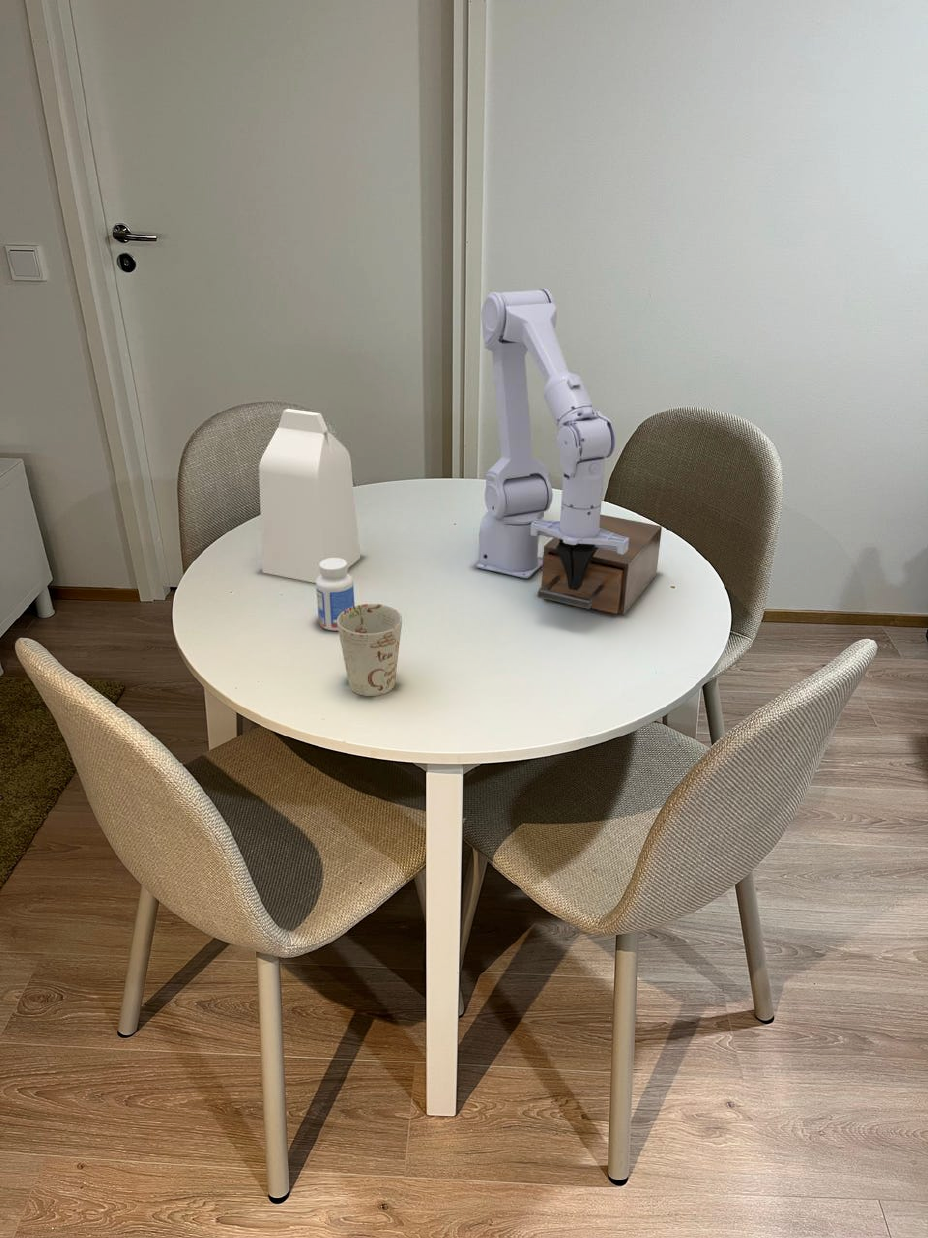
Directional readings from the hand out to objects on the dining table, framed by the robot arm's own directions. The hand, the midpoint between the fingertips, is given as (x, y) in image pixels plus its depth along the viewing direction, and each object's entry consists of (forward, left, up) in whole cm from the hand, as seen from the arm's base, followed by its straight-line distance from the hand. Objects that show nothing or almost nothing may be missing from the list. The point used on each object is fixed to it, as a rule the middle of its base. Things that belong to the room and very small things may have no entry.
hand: (575, 587), depth 147 cm
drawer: (0, +6, -4) cm, 7 cm away
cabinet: (0, +12, -5) cm, 13 cm away
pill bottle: (-30, -19, -5) cm, 36 cm away
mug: (-18, -30, -5) cm, 35 cm away
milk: (-45, -4, -5) cm, 45 cm away
